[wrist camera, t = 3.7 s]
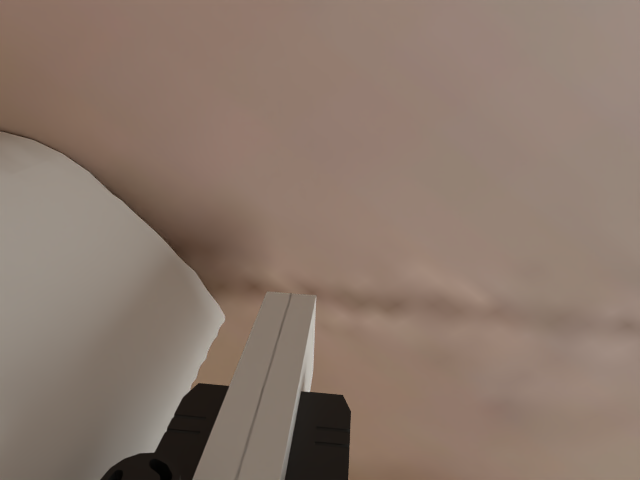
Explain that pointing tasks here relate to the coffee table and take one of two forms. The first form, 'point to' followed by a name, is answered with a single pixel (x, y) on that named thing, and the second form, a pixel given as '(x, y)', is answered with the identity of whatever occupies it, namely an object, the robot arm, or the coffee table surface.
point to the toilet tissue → (87, 322)
